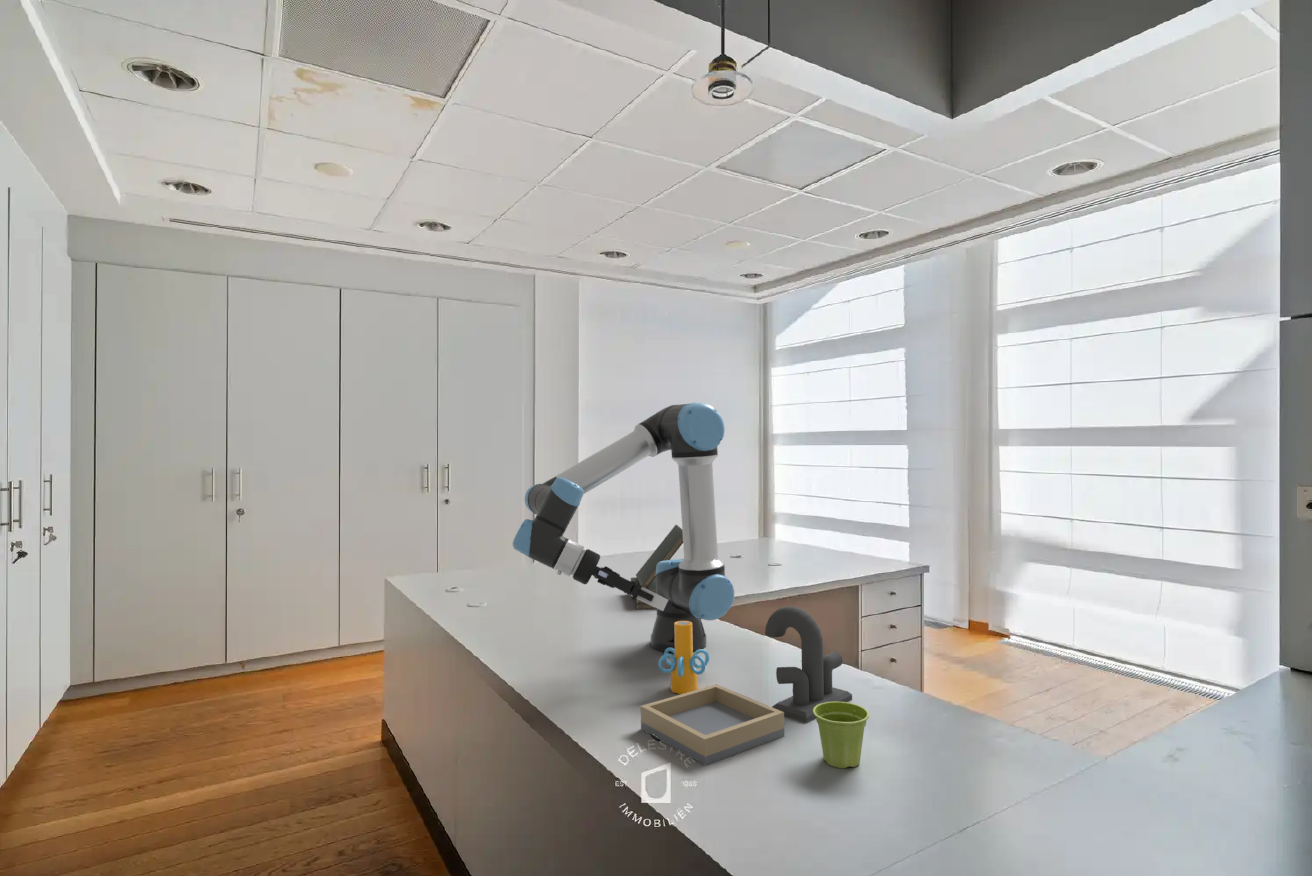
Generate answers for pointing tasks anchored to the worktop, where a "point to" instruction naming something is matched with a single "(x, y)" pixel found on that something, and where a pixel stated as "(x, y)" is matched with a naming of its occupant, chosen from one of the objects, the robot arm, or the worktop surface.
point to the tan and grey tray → (712, 723)
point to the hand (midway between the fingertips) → (661, 604)
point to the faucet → (805, 666)
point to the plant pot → (841, 732)
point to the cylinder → (683, 660)
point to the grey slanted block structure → (662, 553)
